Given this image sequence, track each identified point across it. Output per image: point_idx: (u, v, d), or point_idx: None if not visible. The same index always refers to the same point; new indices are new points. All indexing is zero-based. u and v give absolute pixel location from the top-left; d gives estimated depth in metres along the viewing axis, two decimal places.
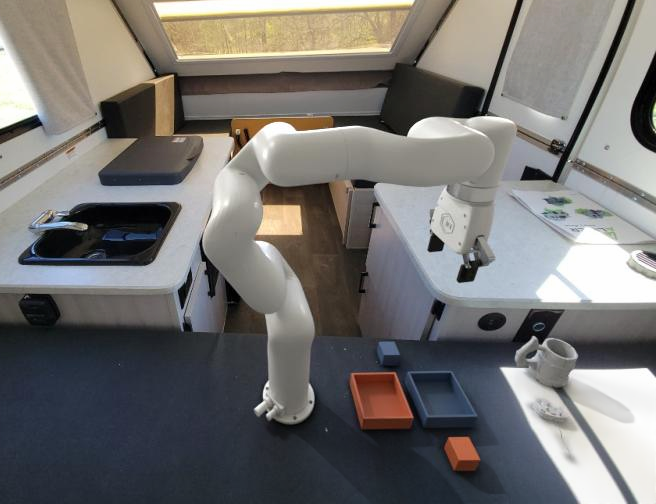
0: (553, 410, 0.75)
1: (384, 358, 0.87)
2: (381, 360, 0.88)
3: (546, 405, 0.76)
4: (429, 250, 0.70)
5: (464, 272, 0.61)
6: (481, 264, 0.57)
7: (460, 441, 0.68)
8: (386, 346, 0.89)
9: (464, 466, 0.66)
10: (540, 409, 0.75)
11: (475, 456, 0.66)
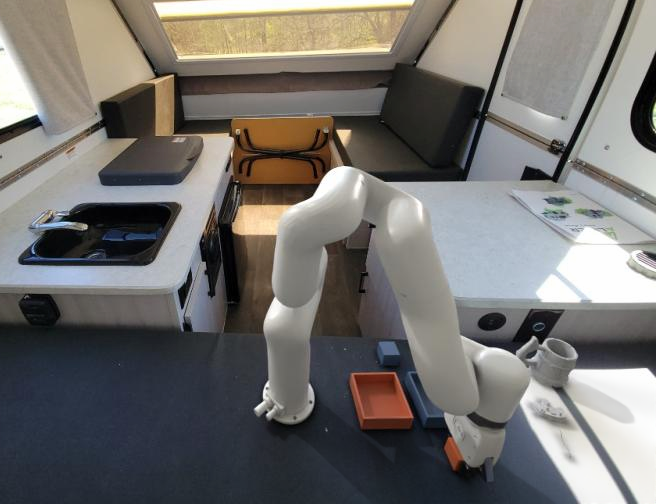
0: (553, 410, 0.75)
1: (384, 358, 0.87)
2: (381, 360, 0.88)
3: (546, 405, 0.76)
4: None
5: (465, 468, 0.65)
6: (479, 474, 0.61)
7: None
8: (386, 346, 0.89)
9: None
10: (540, 409, 0.75)
11: None
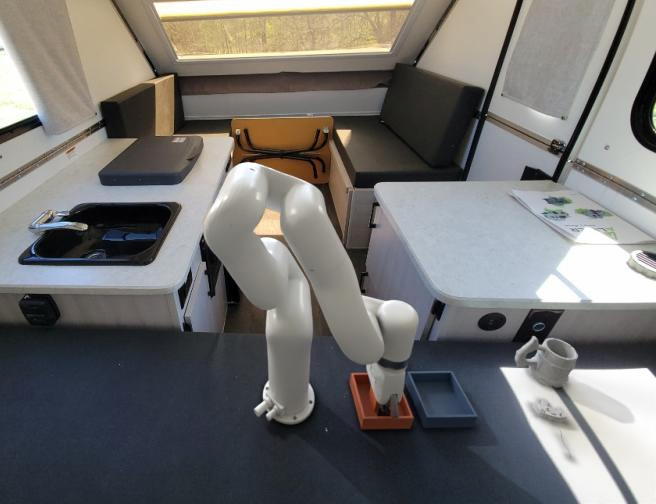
0: (553, 410, 0.75)
1: None
2: None
3: (546, 405, 0.76)
4: (369, 390, 0.81)
5: (381, 411, 0.75)
6: (389, 413, 0.71)
7: None
8: None
9: None
10: (540, 409, 0.75)
11: None
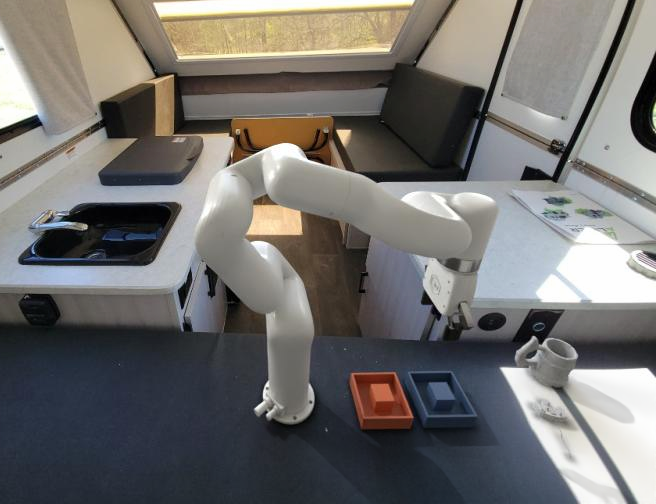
0: (553, 410, 0.75)
1: (437, 403, 0.76)
2: (432, 404, 0.77)
3: (546, 405, 0.76)
4: (422, 303, 0.74)
5: (449, 332, 0.65)
6: (462, 328, 0.61)
7: (380, 387, 0.78)
8: (438, 388, 0.77)
9: (382, 407, 0.76)
10: (540, 409, 0.75)
11: (390, 398, 0.76)
